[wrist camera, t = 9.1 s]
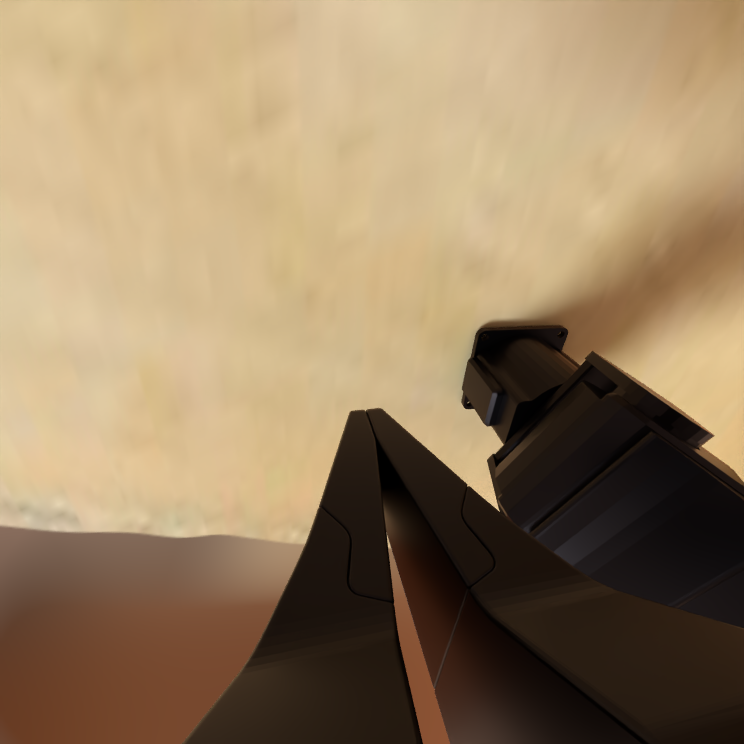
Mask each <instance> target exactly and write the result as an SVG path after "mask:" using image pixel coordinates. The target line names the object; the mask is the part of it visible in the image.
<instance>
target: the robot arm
mask: <svg viewBox="0 0 744 744" xmlns="http://www.w3.org/2000/svg"><path fill="white" fill-rule="evenodd" d="M559 332H561V333H560V334H559V335H558V333H559ZM484 334H486V336H485V337H484V338H481V337H482V336H483V335H484ZM567 335H568V330H567V329H566V328H564V327H563V326H529V327H499V328H482V329H480V330H478V331H477V333H476V335H475V340H474V344H473V349H472V354H471V358H470V359H469V360H468V362H467V367H466V372H465V377H464V382H463V386H462V390H463V396H462V405H463V406H464V408H465V409H475V410H476V412H477V414H478V415H479V417H480V418H481V420H482V421H483V423H484V424H485V425H486V426H492V427H493V429H494V430H495V432H496V434H497V435H498V437H499V438H500V440H501V441H502V443H503V444H504V445H503V446H502V447H501V448H500V449H499V450H498V452H497V453H496V454H492V455H491V456H490V457H489V458H488V459H487V462H488V466H489V470H490V475H491V479H492V483H493V487H494V491H495V495H496V499H497V503H498V507H499V510H500V512H499V511H498V510H497V509H496V508H494V507H493V506H492V505H491V504H490V503H488V502H487V501H486V500H485V499H484V498H482V497H481V496H480V495H479V494H478V493H477V492H476V491H474V490H473V489H472V488H471V487H470V486H468V487H467V484H466V483H465V482H464V481H463V480H462V479H461V478H460V477H458V476H457V475H456V474H455V473H454V472H453V471H452V470H451V469H449V468H448V467H447V466H446V465H445V464H444V463H443V462H442V461H440V460H439V459H438V458H437V457H436V456H435V455H434V454H432V453H431V452H430V451H429V450H428V449H427V448H426V447H425V446H423V445H422V444H421V443H420V442H419V441H418V440H417V439H415V438H414V437H413V436H412V435H411V434H410V433H409V432H408V431H406V430H405V429H404V428H403V427H402V426H401V425H400V424H399V423H397V422H396V421H395V420H394V419H393V418H392V417H391V416H389V415H388V414H387V413H386V412H385V411H384V410H383V409H381V408H375V409H367V410H366V411H365V410H355V411H351V412H350V413H349V416H348V419H347V422H346V425H345V428H344V431H343V434H342V437H341V440H340V443H339V447H338V450H337V453H336V456H335V459H334V462H333V465H332V468H331V471H330V474H329V477H328V480H327V483H326V486H325V489H324V493H323V496H322V499H321V502H320V505H319V508H318V510H317V513H316V516H315V519H314V522H313V525H312V528H311V531H310V533H309V536H308V539H307V541H306V544H305V546H304V548H303V551H302V553H301V555H300V558H299V560H298V562H297V564H296V567H295V569H294V571H293V573H292V575H291V577H290V579H289V581H288V583H287V585H286V587H285V589H284V591H283V593H282V595H281V597H280V600H279V602H278V604H277V606H276V608H275V610H274V612H273V614H272V616H271V618H270V620H269V622H268V624H267V626H266V628H265V630H264V632H263V634H262V636H261V638H260V640H259V642H258V644H257V645H256V647H255V649H254V651H253V653H252V654H251V656H250V657H249V659H248V661H247V662H246V664H245V665H244V666H243V668H242V670H241V671H240V672H239V673H238V675H237V676H236V677H235V679H234V680H233V681H232V682H231V684H230V685H229V686H228V687H227V689H226V690H225V691H224V692H223V694H222V695H221V696H220V697H219V698H218V700H217V701H216V702H215V703H214V705H213V706H212V707H211V708H210V710H209V711H208V712H207V713H206V715H205V716H204V717H203V718H202V720H201V721H200V722H199V723H198V725H197V726H196V727H195V728H194V730H193V731H192V732H191V733H190V735H189V736H188V737H187V738H186V739H185V741H184V742H183V743H182V744H423V742H422V738H421V733H420V729H419V725H418V720H417V716H416V712H415V707H414V703H413V699H412V694H411V690H410V686H409V681H408V677H407V673H406V668H405V664H404V660H403V655H402V651H401V647H400V642H399V636H398V630H397V623H396V616H395V607H394V597H393V588H392V579H391V570H390V561H389V553H388V543H387V535H388V539H389V542H390V545H391V548H392V552H393V555H394V558H395V562H396V565H397V568H398V571H399V575H400V578H401V581H402V585H403V588H404V591H405V595H406V597H407V601H408V605H409V608H410V611H411V615H412V618H413V621H414V624H415V628H416V631H417V635H418V638H419V641H420V644H421V648H422V651H423V654H424V658H425V661H426V664H427V668H428V671H429V674H430V677H431V681H432V684H433V687H434V688H435V695H436V698H437V701H438V704H439V708H440V711H441V715H442V718H443V721H444V724H445V728H446V731H447V734H448V738H449V741H450V744H744V482H743V481H742V480H741V479H740V477H739V476H738V475H737V474H736V473H735V471H734V470H733V469H731V468H730V467H729V466H728V465H726V464H725V463H724V462H722V461H721V460H720V459H718V458H717V457H715V456H714V455H713V454H711V453H710V452H709V451H707V450H706V449H704V448H703V447H702V445H703V444H705V443H706V442H707V441H708V440H710V439H711V438H712V437H714V435H713V434H712V433H711V432H709V431H708V430H707V429H705V428H704V427H703V426H701V425H700V424H699V423H698V422H696V421H695V420H694V419H692V418H691V417H690V416H688V415H687V414H686V413H684V412H683V411H682V410H681V409H679V408H678V407H676V406H675V405H674V404H672V403H671V402H669V401H668V400H666V399H665V398H663V397H662V396H660V395H659V394H657V393H656V392H655V391H653V390H652V389H650V388H649V387H647V386H646V385H644V384H643V383H641V382H640V381H638V380H637V379H635V378H634V377H632V376H631V375H629V374H628V373H626V372H624V371H623V370H621V369H620V368H618V367H617V366H615V365H614V364H612V363H611V362H609V361H607V360H606V359H604V358H603V357H601V356H600V355H598V354H597V353H595V352H594V351H592V352H591V353H590V354H589V355H588V356H587V357H586V358H585V359H586V361H585V362H584V363H583V364H582V365H581V366H580V365H579V364H578V363H576V362H575V361H574V360H573V359H571V358H570V357H569V356H568V355H566V354H565V353H564V352H562V348H563V346H564V343H565V340H566V338H567ZM469 401H470V403H468V402H469ZM386 532H387V534H386Z"/></svg>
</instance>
